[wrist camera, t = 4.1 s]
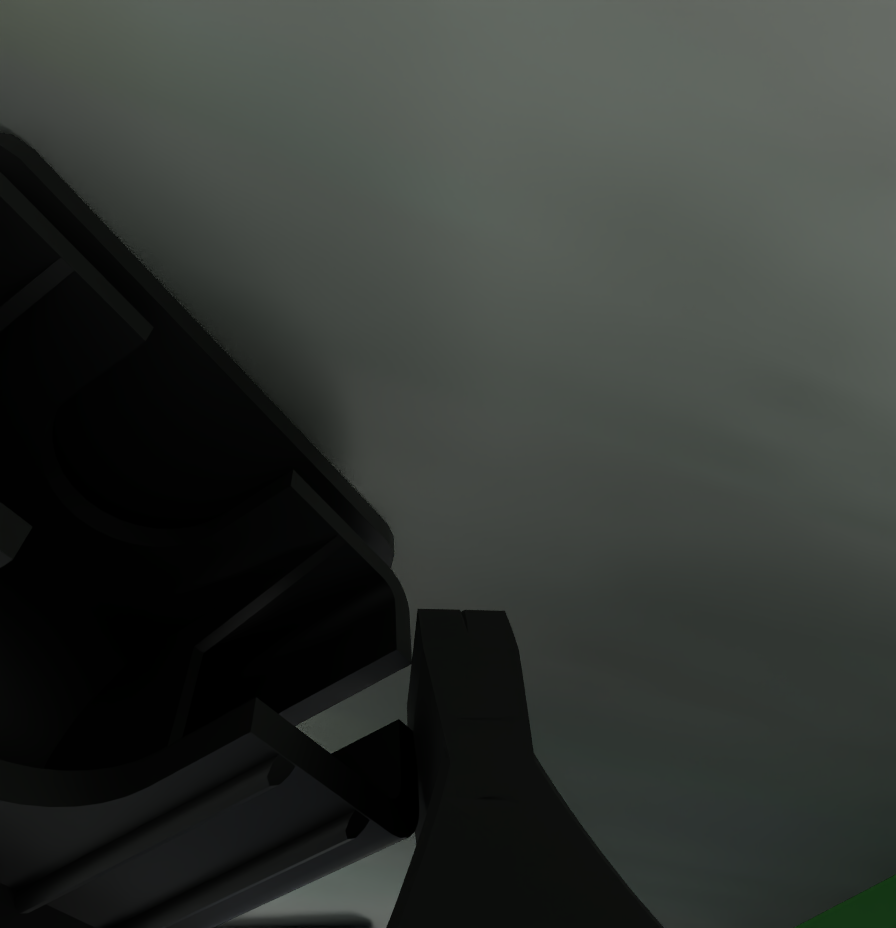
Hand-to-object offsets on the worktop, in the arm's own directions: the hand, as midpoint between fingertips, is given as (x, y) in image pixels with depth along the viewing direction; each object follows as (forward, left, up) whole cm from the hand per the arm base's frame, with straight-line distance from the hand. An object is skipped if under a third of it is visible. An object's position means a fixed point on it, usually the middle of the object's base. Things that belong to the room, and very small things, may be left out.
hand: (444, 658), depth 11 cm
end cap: (+1, +6, -4) cm, 7 cm away
